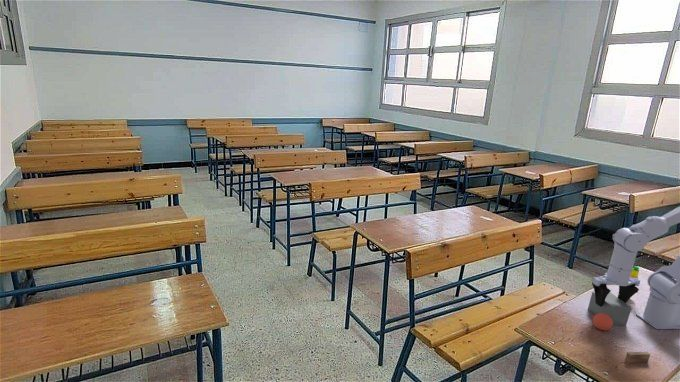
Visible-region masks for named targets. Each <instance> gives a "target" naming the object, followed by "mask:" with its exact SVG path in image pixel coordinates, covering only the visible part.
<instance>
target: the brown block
mask: <svg viewBox="0 0 680 382" xmlns="http://www.w3.org/2000/svg"><path fill="white" fill-rule="evenodd" d="M650 358H651V353H649V352H648V351H632V352H631V351H628V352H626V355H625V358H624V361H625V362H626V363H627V364H628V363H633V364H634V363H649V360H650Z"/></svg>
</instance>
